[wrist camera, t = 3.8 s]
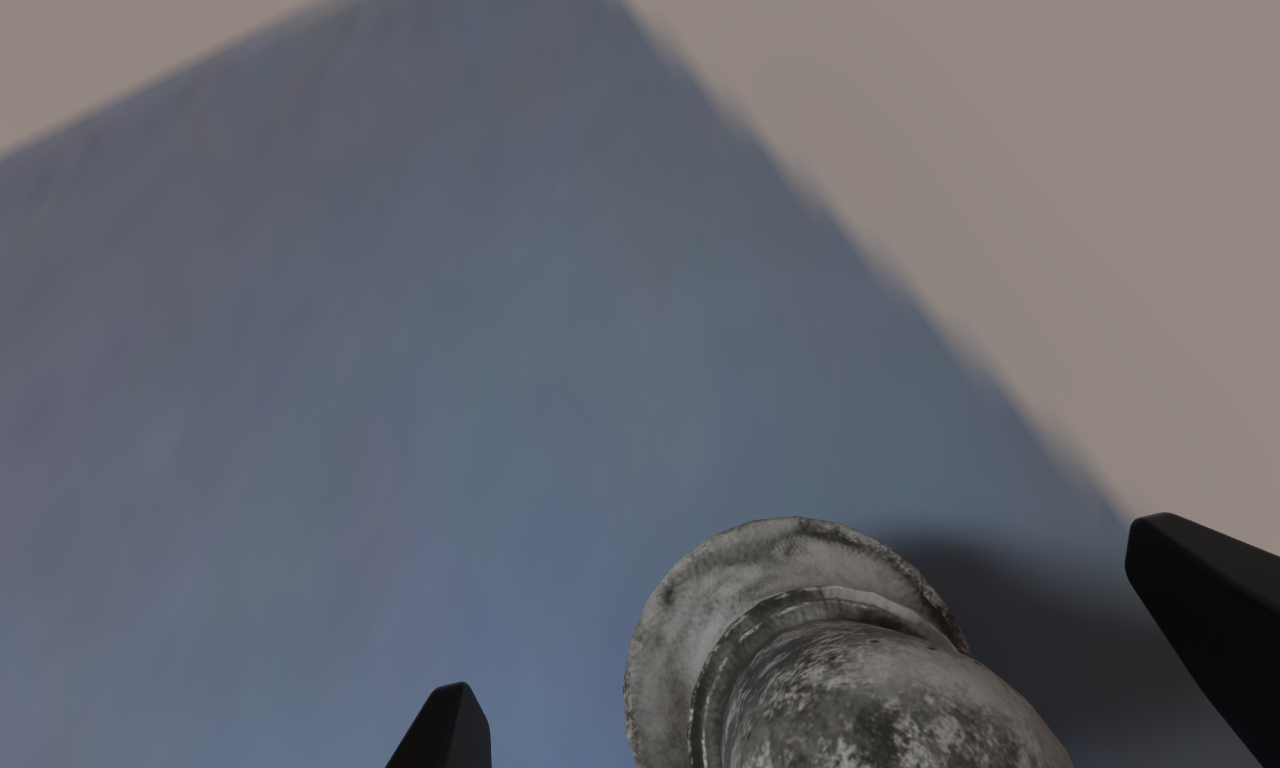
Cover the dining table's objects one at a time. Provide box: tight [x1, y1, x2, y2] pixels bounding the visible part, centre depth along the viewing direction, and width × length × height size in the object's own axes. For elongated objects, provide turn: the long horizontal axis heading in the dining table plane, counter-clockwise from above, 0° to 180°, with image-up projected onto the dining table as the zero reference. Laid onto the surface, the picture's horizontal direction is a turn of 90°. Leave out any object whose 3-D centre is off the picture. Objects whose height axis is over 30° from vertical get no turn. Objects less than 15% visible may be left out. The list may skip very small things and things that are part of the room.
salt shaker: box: [623, 516, 1075, 768], centre depth 10 cm, size 6×6×12 cm
